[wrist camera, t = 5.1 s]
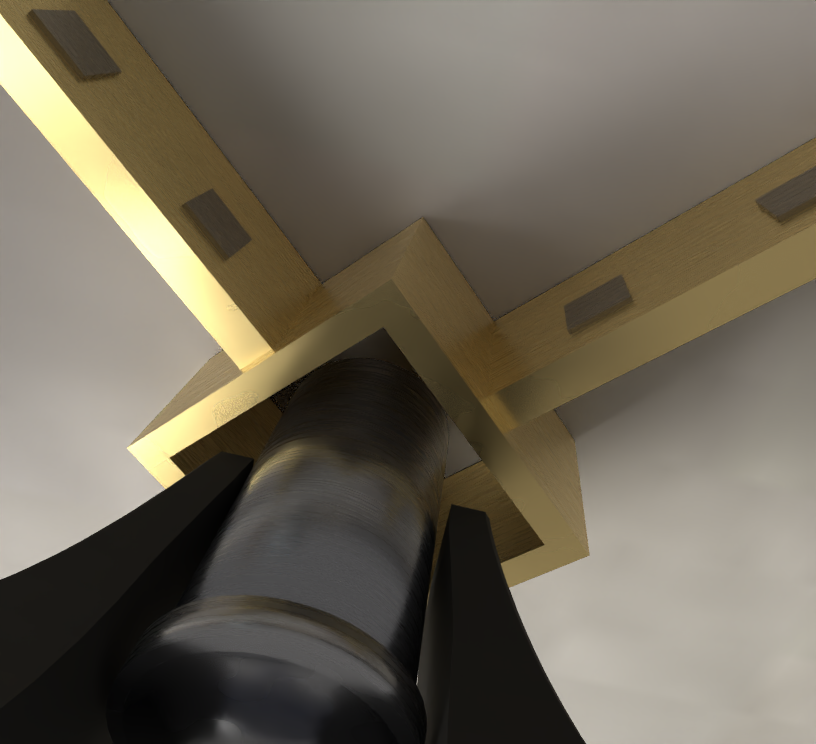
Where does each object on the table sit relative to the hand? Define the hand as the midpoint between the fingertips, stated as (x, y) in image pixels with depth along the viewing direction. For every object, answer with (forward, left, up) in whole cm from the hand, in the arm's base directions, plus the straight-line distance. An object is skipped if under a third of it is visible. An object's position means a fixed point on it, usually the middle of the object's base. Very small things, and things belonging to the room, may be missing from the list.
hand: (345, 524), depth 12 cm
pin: (0, 0, -2) cm, 2 cm away
